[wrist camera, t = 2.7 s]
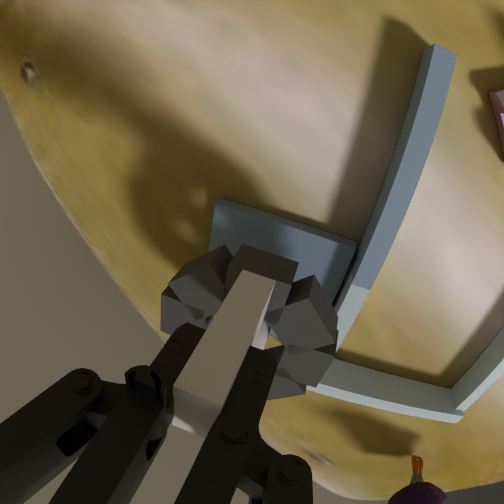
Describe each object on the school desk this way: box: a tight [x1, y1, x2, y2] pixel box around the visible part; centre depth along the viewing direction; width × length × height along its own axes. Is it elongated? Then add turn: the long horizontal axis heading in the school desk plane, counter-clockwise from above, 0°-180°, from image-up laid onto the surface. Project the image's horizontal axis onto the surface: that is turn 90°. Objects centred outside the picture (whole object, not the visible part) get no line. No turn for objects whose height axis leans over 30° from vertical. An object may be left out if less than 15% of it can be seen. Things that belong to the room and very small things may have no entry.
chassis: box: [208, 44, 504, 423], centre depth 15 cm, size 24×25×8 cm
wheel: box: [161, 244, 339, 400], centre depth 17 cm, size 10×10×2 cm
